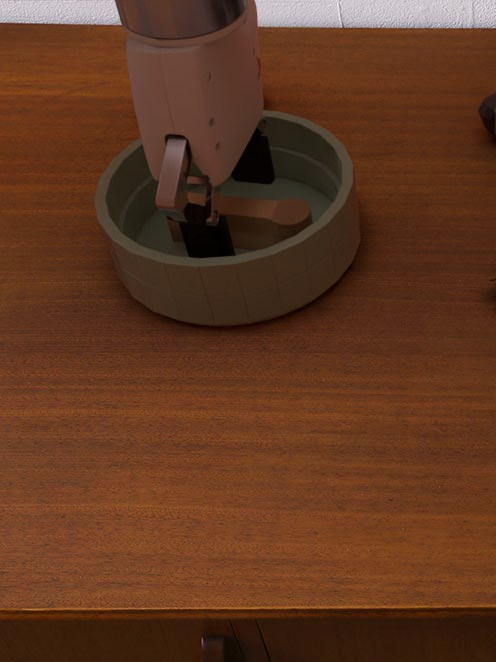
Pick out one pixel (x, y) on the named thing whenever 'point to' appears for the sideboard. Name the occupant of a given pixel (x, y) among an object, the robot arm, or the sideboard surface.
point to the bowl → (248, 265)
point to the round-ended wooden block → (256, 220)
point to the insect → (493, 280)
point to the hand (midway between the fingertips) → (234, 218)
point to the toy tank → (489, 114)
